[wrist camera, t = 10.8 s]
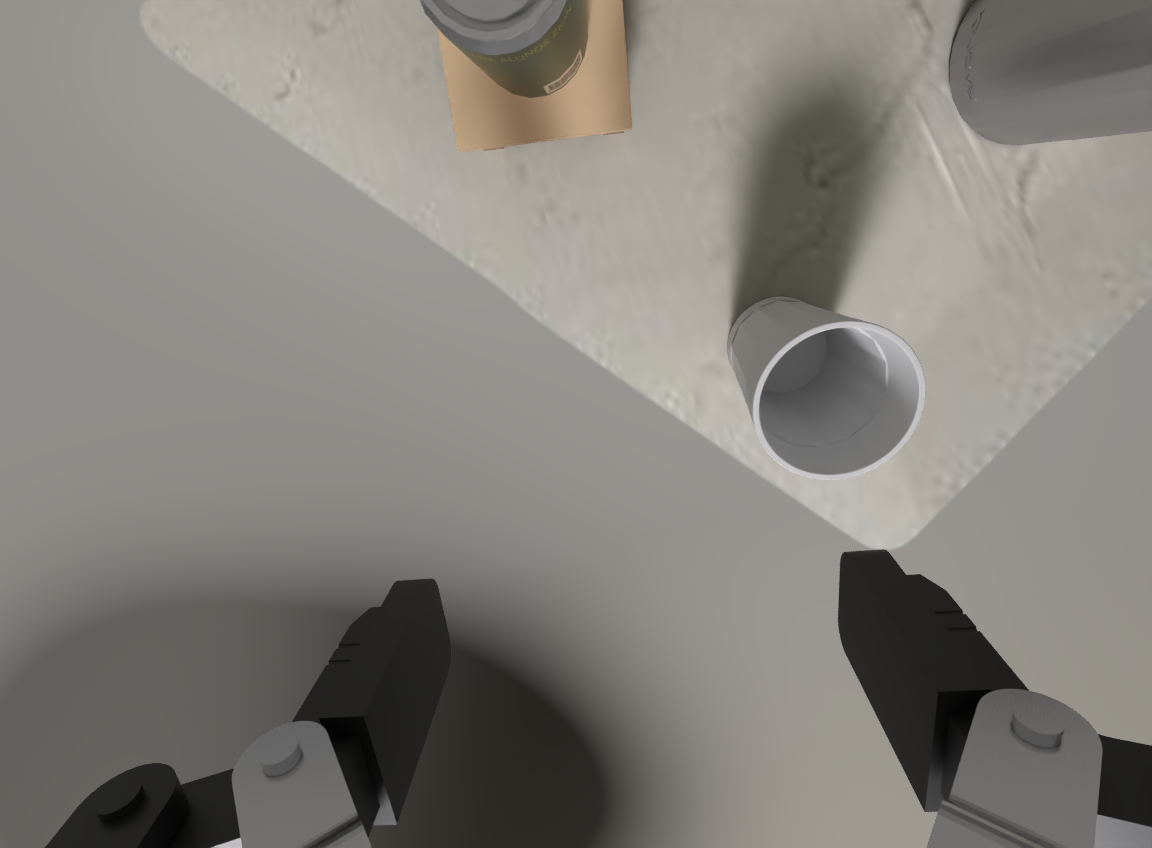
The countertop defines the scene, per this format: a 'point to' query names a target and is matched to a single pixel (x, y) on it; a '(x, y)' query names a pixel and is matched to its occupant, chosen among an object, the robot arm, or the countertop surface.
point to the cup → (825, 387)
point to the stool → (569, 112)
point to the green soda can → (517, 39)
